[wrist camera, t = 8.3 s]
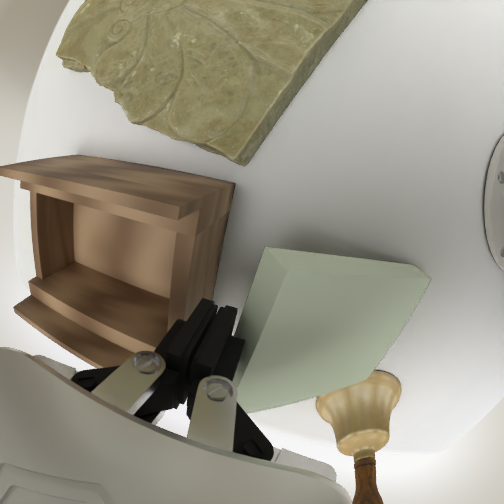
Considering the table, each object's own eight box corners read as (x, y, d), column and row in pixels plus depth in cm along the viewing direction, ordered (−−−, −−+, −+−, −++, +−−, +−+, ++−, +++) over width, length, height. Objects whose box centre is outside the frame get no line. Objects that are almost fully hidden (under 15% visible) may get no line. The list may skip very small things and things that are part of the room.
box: (235, 183, 17) (179, 206, 9) (207, 324, 21) (165, 401, 13) (76, 154, 18) (-3, 167, 10) (75, 272, 22) (14, 312, 14)
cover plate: (413, 264, 16) (432, 278, 15) (354, 364, 20) (366, 379, 18) (265, 246, 11) (287, 270, 9) (213, 392, 14) (223, 417, 13)
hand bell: (298, 409, 23) (277, 562, 8) (354, 356, 19) (371, 552, 5) (360, 429, 23) (364, 558, 8) (417, 384, 20) (452, 531, 5)
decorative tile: (172, -67, 9) (157, -84, 6) (380, -13, 10) (390, -36, 7) (63, 80, 16) (36, 77, 13) (244, 177, 17) (230, 182, 14)
